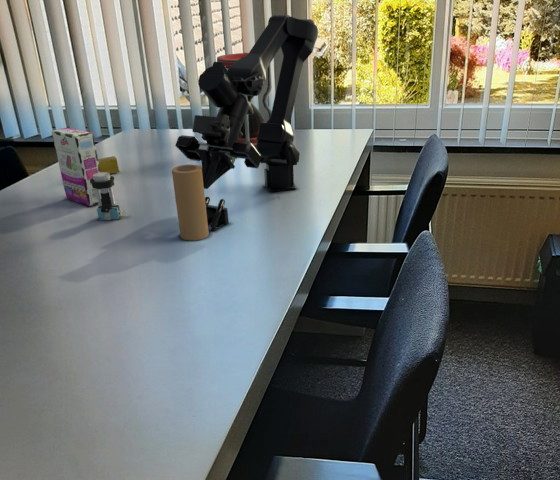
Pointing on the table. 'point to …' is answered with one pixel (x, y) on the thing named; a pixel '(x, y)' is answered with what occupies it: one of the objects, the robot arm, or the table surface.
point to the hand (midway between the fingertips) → (204, 187)
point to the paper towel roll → (190, 202)
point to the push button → (105, 196)
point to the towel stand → (216, 214)
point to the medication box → (108, 165)
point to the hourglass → (255, 120)
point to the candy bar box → (77, 163)
